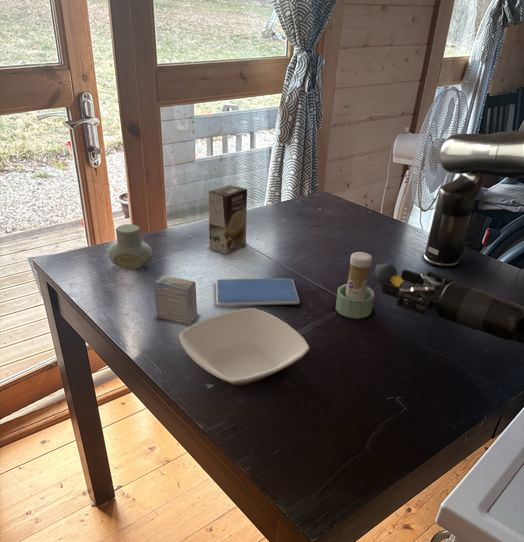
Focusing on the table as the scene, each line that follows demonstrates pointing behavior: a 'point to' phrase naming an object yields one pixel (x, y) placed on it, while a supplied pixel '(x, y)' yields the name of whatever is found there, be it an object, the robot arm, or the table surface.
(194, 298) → the medicine box
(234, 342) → the bowl
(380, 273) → the paintbrush
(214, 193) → the coffee box
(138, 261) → the air freshener
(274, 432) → the table surface
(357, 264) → the sprinkles bottle
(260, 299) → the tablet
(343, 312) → the bracelet
